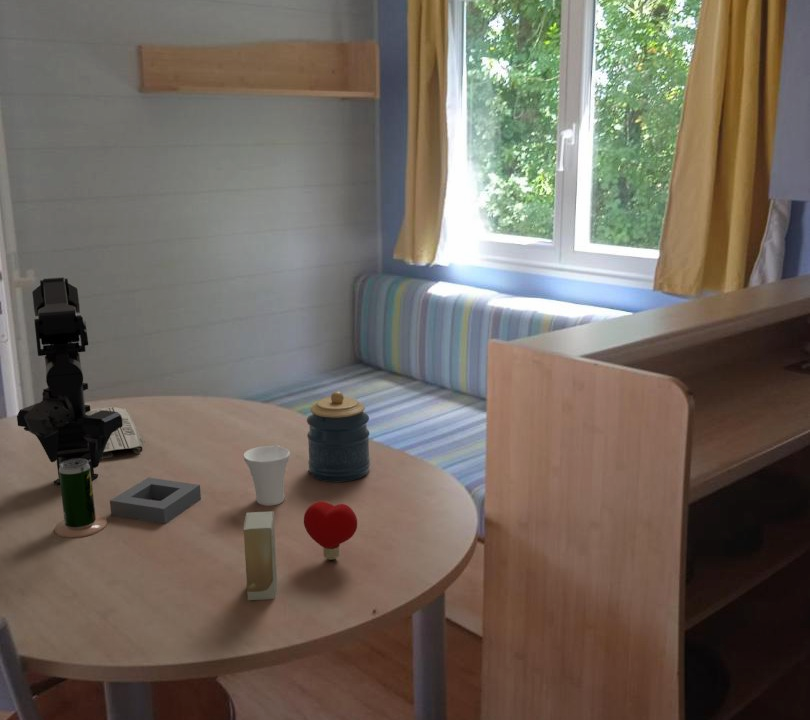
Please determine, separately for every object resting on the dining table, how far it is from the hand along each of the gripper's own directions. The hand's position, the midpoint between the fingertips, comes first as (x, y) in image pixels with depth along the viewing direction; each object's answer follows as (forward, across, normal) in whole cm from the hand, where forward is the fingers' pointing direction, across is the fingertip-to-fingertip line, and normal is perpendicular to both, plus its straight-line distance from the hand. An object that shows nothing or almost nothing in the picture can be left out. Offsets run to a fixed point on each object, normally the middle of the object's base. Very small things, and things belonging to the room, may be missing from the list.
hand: (74, 464), depth 160 cm
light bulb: (+13, +49, +3) cm, 51 cm away
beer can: (+12, 0, 0) cm, 12 cm away
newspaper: (+13, -27, +45) cm, 54 cm away
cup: (+12, +27, +22) cm, 37 cm away
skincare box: (+13, +43, -10) cm, 46 cm away
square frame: (+12, +8, +12) cm, 19 cm away
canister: (+12, +34, +40) cm, 54 cm away
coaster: (+12, 0, 0) cm, 12 cm away
